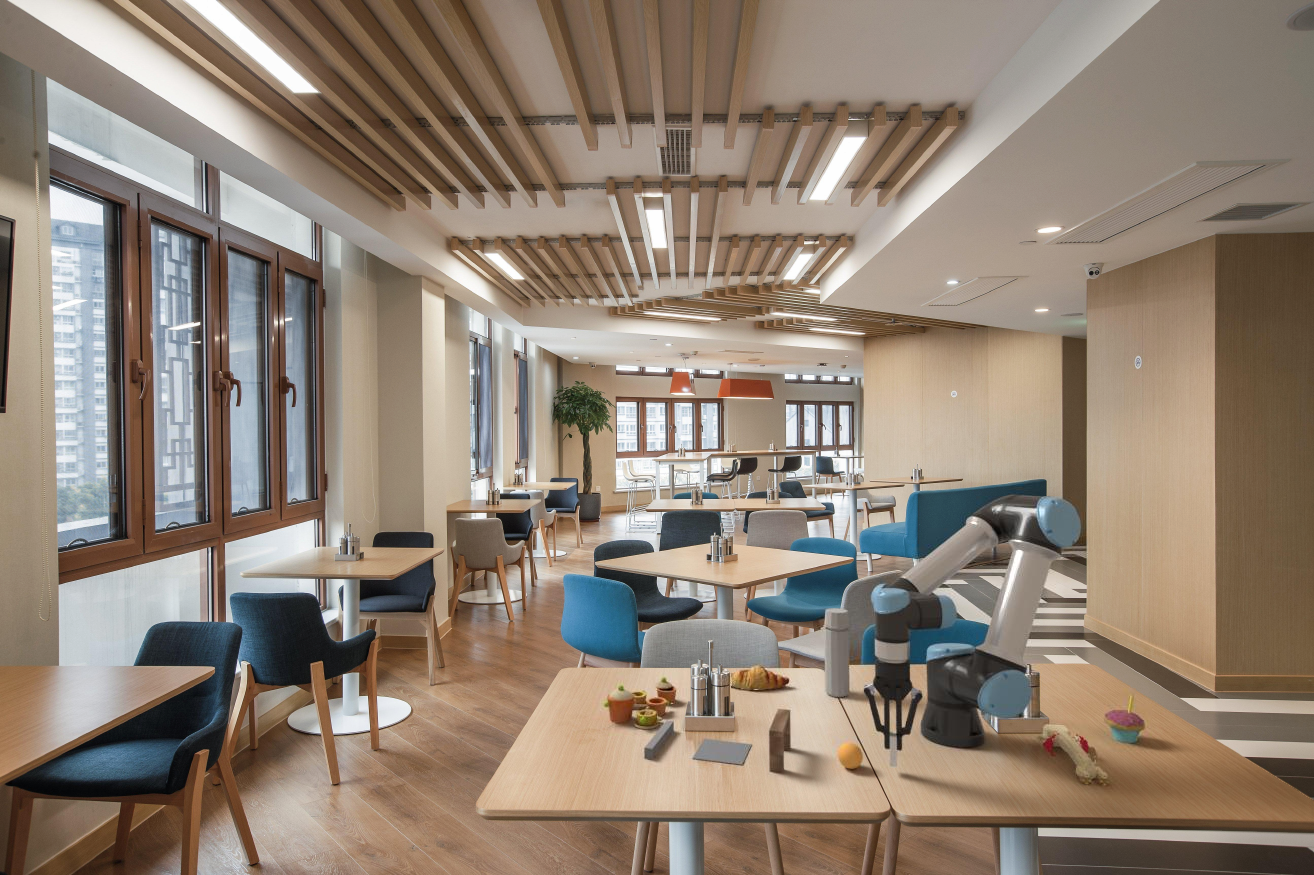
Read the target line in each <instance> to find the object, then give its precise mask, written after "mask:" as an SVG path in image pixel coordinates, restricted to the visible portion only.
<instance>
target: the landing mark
mask: <svg viewBox="0 0 1314 875" xmlns="http://www.w3.org/2000/svg"><path fill="white" fill-rule="evenodd" d="M751 747H752V743H745V742H736V741H727V740H726V741H725V740H717V739H710V738H704V739H703V741H702V742H701V743H700V745H699V746H698V749H697V750H696V751H695V753H694V755H693V756H692V758H691V759H692V760H697V761H707V762H713V763H715V762H716V763H723V764H729V765H736V766H737V765H739V766H743V765H744V762H745V760H746V758H747V756H748V753H749V751H750V749H751Z"/></svg>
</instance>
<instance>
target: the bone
mask: <svg viewBox="0 0 1314 875" xmlns="http://www.w3.org/2000/svg"><path fill="white" fill-rule="evenodd" d="M1041 729H1042V733H1040V734H1036V735H1037V736H1036V739H1037V740H1039V741H1040V742H1042V746H1043V748H1044V749H1045V750H1046V751H1047V753H1048V754H1050V755H1051V756H1054V757H1056V755H1054V751H1052V750H1053V747H1059V748H1061V749H1062V750H1063V751H1064V752H1065V753H1066V754H1067V755H1068V756H1069V757H1070V758H1071V760H1072V761H1073V763H1074V764H1075V765H1076V767H1075V774H1076V775H1077V776H1078V777H1079V781H1080V783H1083V784H1084V785H1090V784H1092V783H1093V780H1094V779H1096V778H1097V783H1098V784H1100V785H1102V786H1108V785H1110V784H1111V780H1110V778H1109V777H1108V774H1107V773H1106V772H1105V771H1104V770H1103V769H1102V768H1101V767H1100V766H1099V765H1098V766H1096V765H1097V763H1098V762H1099V761H1098V754H1097V751H1096V748H1095V747H1094V746H1089V741H1088V740H1087V739H1084V737H1083V736H1081V735H1079V734H1078V733H1076V734H1075V735H1073V736H1071V731H1070V730H1069V728H1067V727H1066V726H1065V725H1063V724H1049V723H1048V724H1047V723H1045V724H1044V725H1043V726H1042V728H1041ZM1078 743H1079V744H1078Z"/></svg>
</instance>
